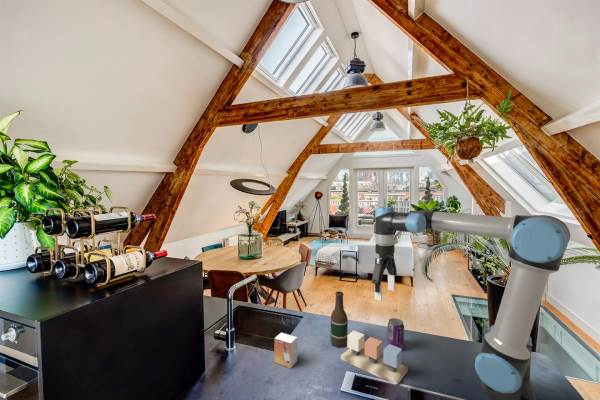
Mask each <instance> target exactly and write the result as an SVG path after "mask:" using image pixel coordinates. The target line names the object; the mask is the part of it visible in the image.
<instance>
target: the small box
mask: <svg viewBox="0 0 600 400" xmlns="http://www.w3.org/2000/svg"><path fill="white" fill-rule="evenodd" d="M273 345H274V347H273V348H274V349H273V351H274V352H273V353H274V356H273V362H274V363H275V364H278V365H281V366H282V367H283V366H284V367H286V368H289V369H292V367H293V366H294V365H295V364H296V363H297V362H298V336H295V335H290V334H288V333H284V332H280V333H279V334H278V335H276V336H275V337H274V344H273Z"/></svg>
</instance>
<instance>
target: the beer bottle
mask: <svg viewBox="0 0 600 400" xmlns="http://www.w3.org/2000/svg"><path fill="white" fill-rule="evenodd" d="M334 295H335V305H334V309H333V310H332V312H331V315H330V343H331V346H333V347H334V348H339V349H340V348H345V347H347V335H348V334H349V333H348V330H349V329H348V328H349V327H348V325H349V324H348V321H349V320H348V315H347V313H346V310H345V307H344V292H343V291H340V290H339V291H336V292H335V294H334Z"/></svg>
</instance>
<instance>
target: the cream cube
mask: <svg viewBox="0 0 600 400" xmlns="http://www.w3.org/2000/svg"><path fill="white" fill-rule="evenodd" d="M365 337H366V336H365V334H364V333H361V332H359V331H356V330H352V331H351V332H350V333H348V335H347V345H346V347H347V348H348V349H349V348H350V349H353V350H355V351H357V352H359V351H360V350H361V349H362V348H365Z"/></svg>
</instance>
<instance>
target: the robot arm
mask: <svg viewBox="0 0 600 400" xmlns="http://www.w3.org/2000/svg"><path fill="white" fill-rule="evenodd" d="M374 211H375V213H374V215H375V216H374V220H375V221H374V222H375V223H374V224H375V229H374V230H375V231H374V233H375V235H374V238H375V239H374V240H375V251H374V252H375V253H376V254H377V255H378V258H377V257H375V259H374V268H373V273H372V279H371V284H374V300H375V301H379V302H382V301H383V297H382V296H383V284H382V280H383V277H384V273H385V270H387V272H388V274H387V290H388V291H393V292H395V290H396V288H395V287H396V286H395V285H396V284H395V283H396V282H395V276H398V273H397V272H398V271H397V266H396V261H395V245H394V244H395V232H403V233H404V232H406V233H412V234H422V233H423V232H424V231H425V230H429V231H430V230H431V231H437V232H438V231H439V232H448V233H453V234H461V235H462V234H463V235H471V236H478V237H487V238H493V239H501V240H508V241H510V243H511V245H510V249H509V251H508V255H507V256H508V258H509V260H510V261H511V262H512V263H511V264H512V265H511V268H510V270H509V274H508V278H507V282H506V284H505V287H504V292H503V295H502V298H501V301H500V305H499V307H498V311H497V315H496V319H495V321H494V324H492V325H491V326H490V328H489V331H488V332H487V333H485V335H484V337H483V338H484V339H483V340H482V341H483V342H482V345H481V348H480V351H479V353H478V354H477V356H476V357H475V361H474V369H475V372H476V374H477V375H478V377H479V379H480V380H481V387H482V388H481V389H483V391H484V393H485V394H486V395H487V396H488V397H489V398H491V399H492V400H536V399H537V397H536V394H535V390H534V388H533V384H532V382H531V363H532V347H533V343H532V341H533V340H532V337H531V336H530V335H531V333H532V329H533V327H534V323H535V320H536V317H537V314H538V311H539V308H540V304H541V302H542V298H543V295H544V292H545V291H546V290H545V289H546V287H547V282H548V281H549V277H550V275H551V274H553V273H557V272H559V271H560V268H561V267H560V266H561V264H562V261H563V257H564V255H565V252H566V251H567V248H568V246H569V245H568V244H569V242H570V240H571V232H570V229H569V227H568V225H566V223H565V222H563V221H562V220H561V219H559V218H557V217H556V216H552V215H546V214H537V215H521V214H519V215H518V214H515V215H513V216H512V217H508V216H507V217H506V216H505V217H504V216H495V215H483V214H472V213H471V214H470V213H468V214H467V213H457V212H445V211H444V212H443V211H432V210H427V209H422V210H417V211H410V212H409V211H408V212H406V211H405V212H403V211H402V212H398V211H395V207H393V206H377V207H376V208H375V210H374Z"/></svg>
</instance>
